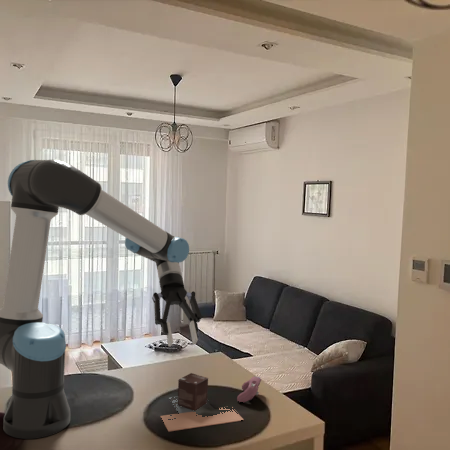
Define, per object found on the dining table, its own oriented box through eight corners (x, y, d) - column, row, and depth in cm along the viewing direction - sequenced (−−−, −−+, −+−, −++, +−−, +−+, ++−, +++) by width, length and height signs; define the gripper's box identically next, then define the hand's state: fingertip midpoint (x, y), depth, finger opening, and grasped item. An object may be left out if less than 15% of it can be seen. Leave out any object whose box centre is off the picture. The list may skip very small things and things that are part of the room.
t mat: (151, 400, 129) (151, 399, 129) (218, 392, 137) (218, 391, 137) (168, 431, 112) (168, 430, 112) (243, 420, 120) (243, 419, 120)
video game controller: (249, 410, 130) (261, 389, 129) (235, 401, 130) (247, 380, 129) (253, 395, 139) (265, 376, 138) (240, 387, 140) (252, 368, 139)
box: (207, 403, 128) (209, 377, 128) (194, 411, 123) (196, 384, 123) (190, 397, 132) (191, 372, 131) (176, 405, 126) (178, 378, 126)
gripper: (196, 284, 157) (211, 346, 143) (138, 285, 149) (147, 352, 135) (202, 271, 151) (218, 334, 137) (142, 272, 144) (152, 339, 130)
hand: (183, 343), depth 136 cm, fingers open, 7 cm apart
